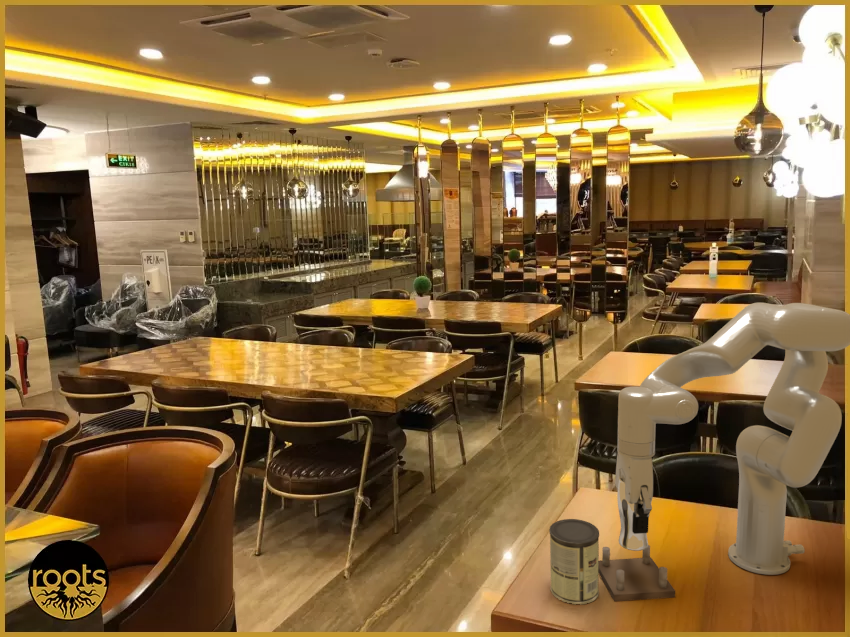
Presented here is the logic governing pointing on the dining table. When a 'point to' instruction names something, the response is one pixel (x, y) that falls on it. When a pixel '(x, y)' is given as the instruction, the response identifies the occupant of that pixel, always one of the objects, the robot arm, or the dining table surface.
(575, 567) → the coffee can
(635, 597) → the peg stand
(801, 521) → the dining table surface
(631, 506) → the beer glass
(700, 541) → the dining table surface
